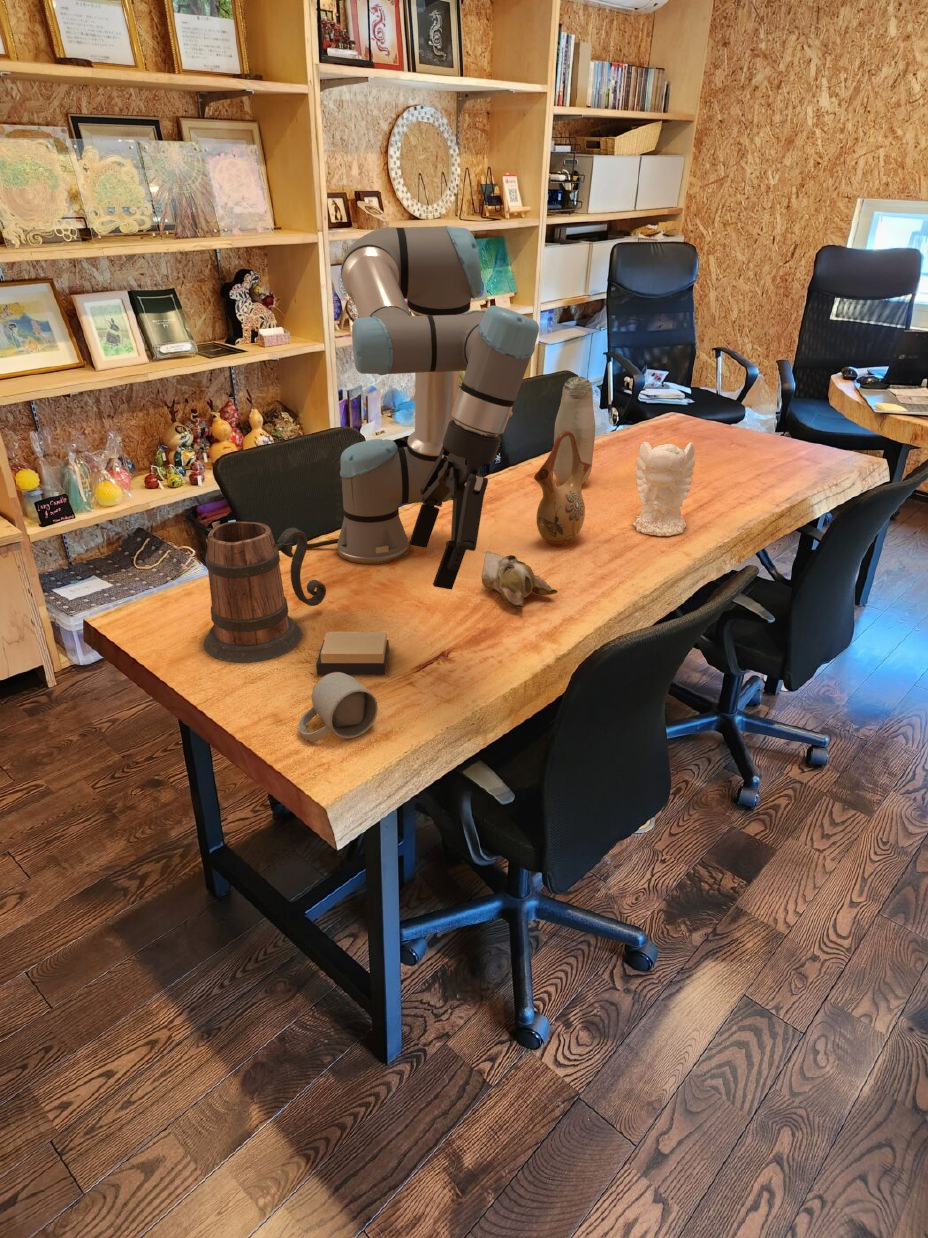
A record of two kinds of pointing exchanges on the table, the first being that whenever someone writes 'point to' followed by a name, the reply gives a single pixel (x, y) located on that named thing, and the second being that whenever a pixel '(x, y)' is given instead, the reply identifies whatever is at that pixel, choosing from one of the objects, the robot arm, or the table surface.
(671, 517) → the cherub figurine
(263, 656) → the tankard
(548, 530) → the ceramic vessel
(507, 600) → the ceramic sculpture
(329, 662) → the stone
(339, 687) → the ceramic mug
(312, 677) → the table surface
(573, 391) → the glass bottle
